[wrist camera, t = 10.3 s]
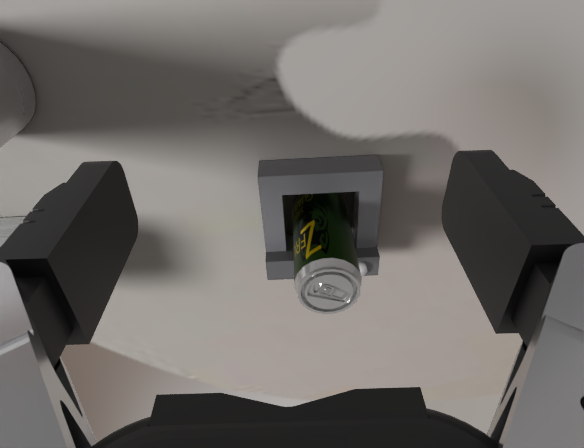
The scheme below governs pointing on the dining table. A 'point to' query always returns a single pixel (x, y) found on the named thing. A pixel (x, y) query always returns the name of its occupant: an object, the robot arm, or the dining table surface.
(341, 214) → the beer can
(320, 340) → the dining table surface
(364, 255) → the grey square frame
